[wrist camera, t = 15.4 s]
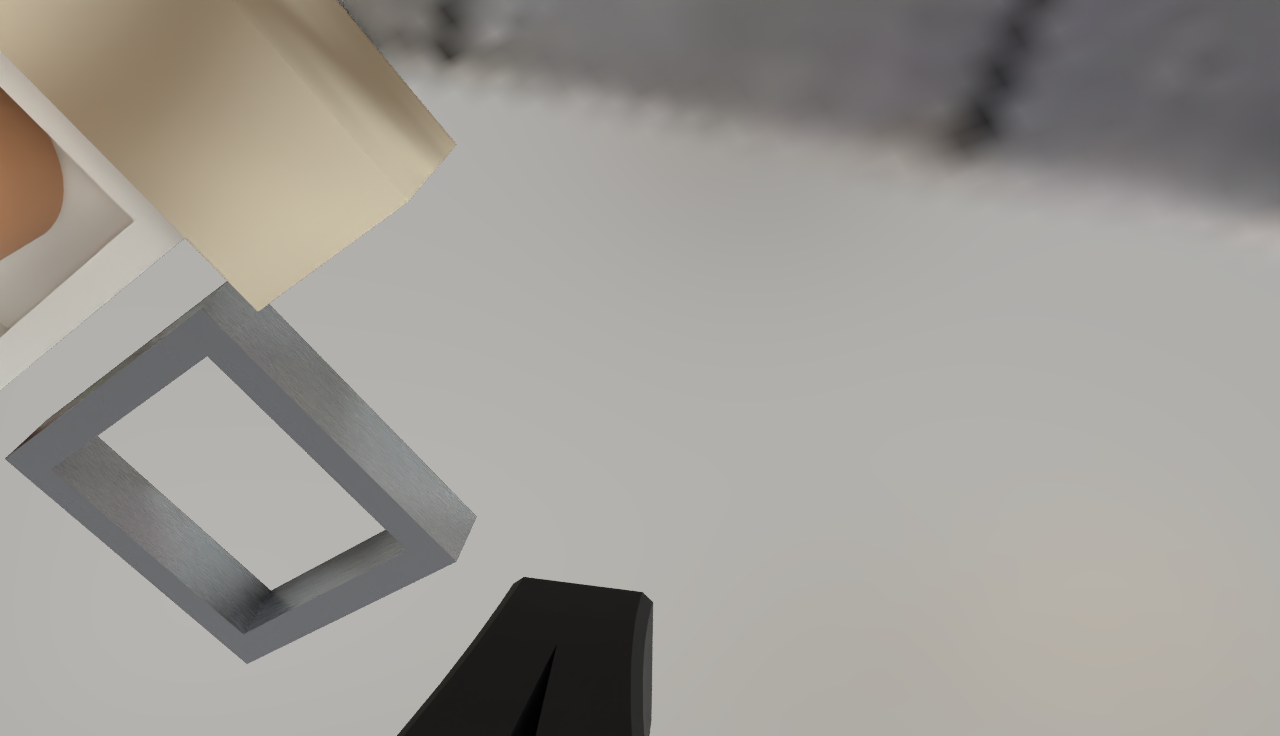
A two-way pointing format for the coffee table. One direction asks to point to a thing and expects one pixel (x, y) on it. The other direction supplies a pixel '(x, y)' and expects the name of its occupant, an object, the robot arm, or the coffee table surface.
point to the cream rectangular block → (236, 121)
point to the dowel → (26, 178)
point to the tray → (72, 241)
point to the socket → (312, 416)
